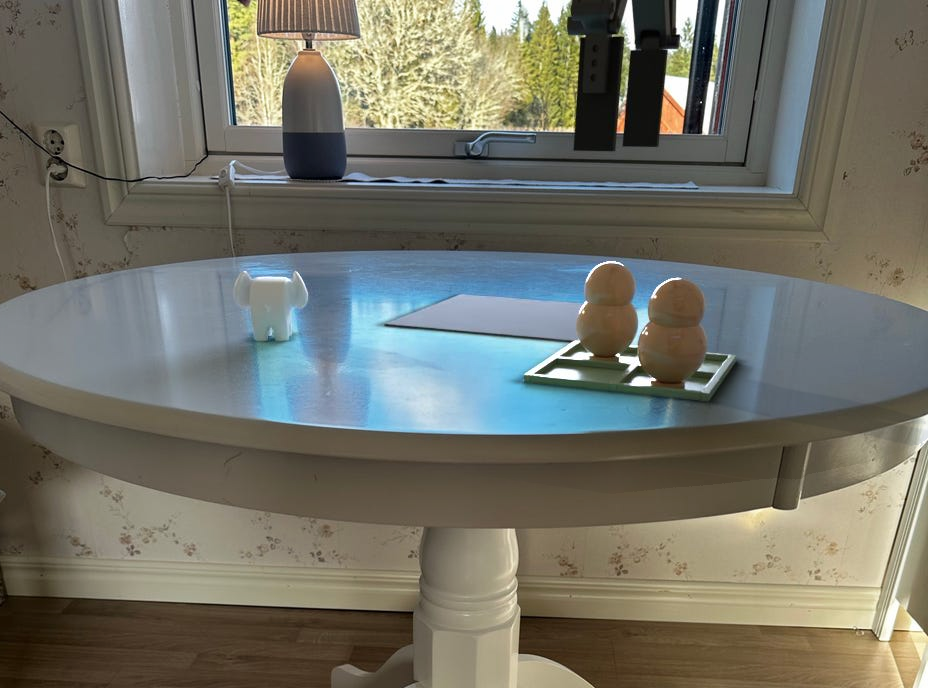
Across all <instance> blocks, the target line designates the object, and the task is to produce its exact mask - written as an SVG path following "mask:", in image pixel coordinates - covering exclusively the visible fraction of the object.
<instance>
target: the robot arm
mask: <svg viewBox="0 0 928 688" xmlns="http://www.w3.org/2000/svg"><path fill="white" fill-rule="evenodd" d="M627 5H628V0H571V5H570V9H569V10H570V16H567V20H566V31H567V35H568V36H569V37H570V36H580V37H579V38H580V39H579V53H578V54H579V55H578V70H577V71H578V72H577V85H576V86H577V88H576V101H575V103H576V104H575V116H574V117H575V118H574V119H575V120H574V133H573V135H574V136H573V152H616V149H617V147H616V146H617V134H618V124H619V122H618V120H619V111H620V110H619V109H620V99H621V85H622V72H623V62H624V61H623V59H624V47H625V37H624V36H621V35H620V36H618V35H619V33H620V31H621V27H622V23H623V19H624V15H625V12H626V9H627ZM631 10H632V22H633V32H634V35H633V36H634V43H633V44H634V46H635V49H630V51H629V64H628V74H627V86H626V87H627V88H626V98H625V111H624V121H623V122H624V123H623V136H622V147H631V148H632V147H633V148H634V147H635V148H638V147H639V148H659V146H660V145H659V144H660V134H661V126H662V125H661V124H662V113H663V104H664V96H665V95H664V94H665V84H666V83H665V82H666V74H667V73H666V72H667V63H668V53H669V50H678V49H679V48H680V43H681V33H678V34H677V32H678V30H677V29H678V28H677V0H631ZM613 35H617V36H613ZM582 36H583V37H582Z"/></svg>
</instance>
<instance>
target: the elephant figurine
mask: <svg viewBox="0 0 928 688" xmlns="http://www.w3.org/2000/svg"><path fill="white" fill-rule="evenodd" d="M232 293H233V295H232V297H233V302H234V303H235V305H236V306H237V307H238V308H241V309H245V310H246V309H247V310H248V309H249V314H250V322H251V329H252V334H253V338H254V341H256V342H266V341H269V337H272V336H273V335H274V340H275V341H276V342H288V341H289V339H290V337H291V336H292V333H293V327H292V308H295V309H297V310H302V309H304V308H305V307H306V306H307V304H308V302H309V293H308V289H307V287H306V284H305V282H304V280H303V279H302V276H300V273H298V271H296V270H295V271H293V274H292V279H289V277H285V276H257V277H254V278H251V276H250V274H249V273H248V272H247V271H244V270H243V271H241V273H240V274H239V275H238V277H237V279H236V281H235V283H234V286H233V292H232ZM272 332H273V333H272Z"/></svg>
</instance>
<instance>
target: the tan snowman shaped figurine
mask: <svg viewBox="0 0 928 688" xmlns="http://www.w3.org/2000/svg"><path fill="white" fill-rule="evenodd" d="M705 297H706V296H705V295H704V292H703V291H702V289H701V287H700V286H699V285H697V283H696V282H694V281H692V280H690V279H688V278H684V277H683V278H682V277H676V278H670V279H668V280H666V281H664V282H662V283H660V284H659V285H658V286H657V287H656V288H655V289H654V291H653V292H652V293H651V295H650V297H649V301H648V305H647V316H648V317H647V318H648V320H649V321H648V322H647V323H646V324H645V326H644V327H643V328H642V330H641V332H640V335H639V337H638V340H637V345H636V346H637V356H638V360H639V362H640V365H641V367H642V368H643V370H644V371H645V372H646V373H647V374H648V375H649V376H650V377H651V378H652V379H651V384H652V385H654V386H657V387H667V388H680V387H683V386H685V379H687V378H689V377H691V376H692V375H693V374H694V373H695V372H697V370H698V369H699V368H700V367H701V365H702V363H703V361H704V359H705V357H706V353H707V352H708V337H707V333H706V331H705V329H704V327H703V325H702V321H704V320H703V319H704V318H705V315H706V309H707V303H706V302H707V301H706V298H705Z"/></svg>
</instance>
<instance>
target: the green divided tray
mask: <svg viewBox="0 0 928 688" xmlns="http://www.w3.org/2000/svg"><path fill="white" fill-rule="evenodd" d="M589 354H590V353H589V352H588V351H587V350H586V349H585V348H584V347H583V346H582V345H581V344H580V342H579V341H574V342H570V343H569V344H568V345H566V346H565V347H563V348H561V349H560V350H558V351H557V352H555V353H554V354H553V355H551V356H549V357H547V359H545V360H544V361H542V362H541V363H539V364H537V365H536V366H535V367H533V368H532V369H530V370H528V371H527V372H526V373H524V374H523V380H522V381H523V382H524V383H531V384H532V383H533V384H540V385H551V386H561V387H568V388H578V389H589V390H596V391H597V390H598V391H608V392H618V393H624V394H625V393H627V394H635V395H636V394H637V395H645V396H654V397H664V398H673V399H683V400H693V401H702V402H709V401H710V400H711V398H712V397H713V395H714V394H715V393H716V391H717V389H718V388H719V387H720V385H721V384H722V383H723V381H724V379H725V378H727V377H726V376H728V374H729V372H730V371H731V370H732V368H733V367H734V365H735V364H736V362H737V357H738V355H737V354H729V353H718V352H708V351H707V353H706V357H705V359H704V361H703V363H702V365H701V367H700V368H699V369H698V370H697V372H695V373H694V374H693V375H692V376H691V377H689V378H687V379H685V386H683V387H680V388H667V387H657V386H654V385H652V384H651V379H652V378H651V377H650V376H649V375H648V374H647V373H646V372H645V371H644V370H643V368H642V367H641V365H640V362H639V360H638V356H637V345H630V346H629V347H628V348H627V349H626V350H625V351H623V352H622V353H620V354H619V355H620V358H619V360H617V361H602V360H591V359H589Z"/></svg>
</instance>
